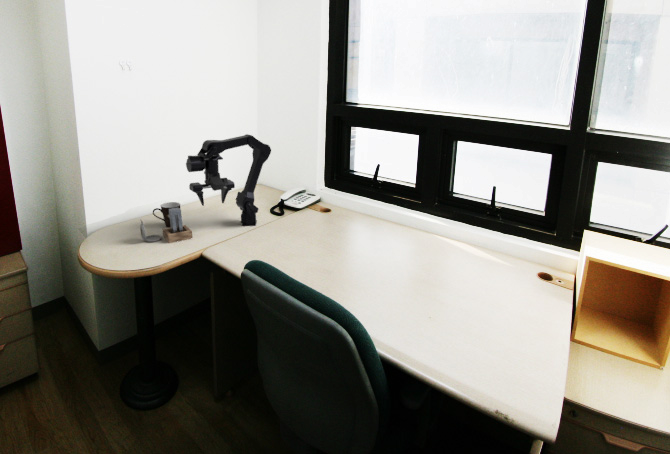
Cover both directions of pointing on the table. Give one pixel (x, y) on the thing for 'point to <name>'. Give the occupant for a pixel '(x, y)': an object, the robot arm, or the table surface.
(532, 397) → the table surface
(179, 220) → the tall gray prism
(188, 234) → the open wooden box
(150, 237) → the pocket watch
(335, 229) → the table surface
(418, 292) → the table surface
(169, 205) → the coffee mug
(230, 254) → the table surface
